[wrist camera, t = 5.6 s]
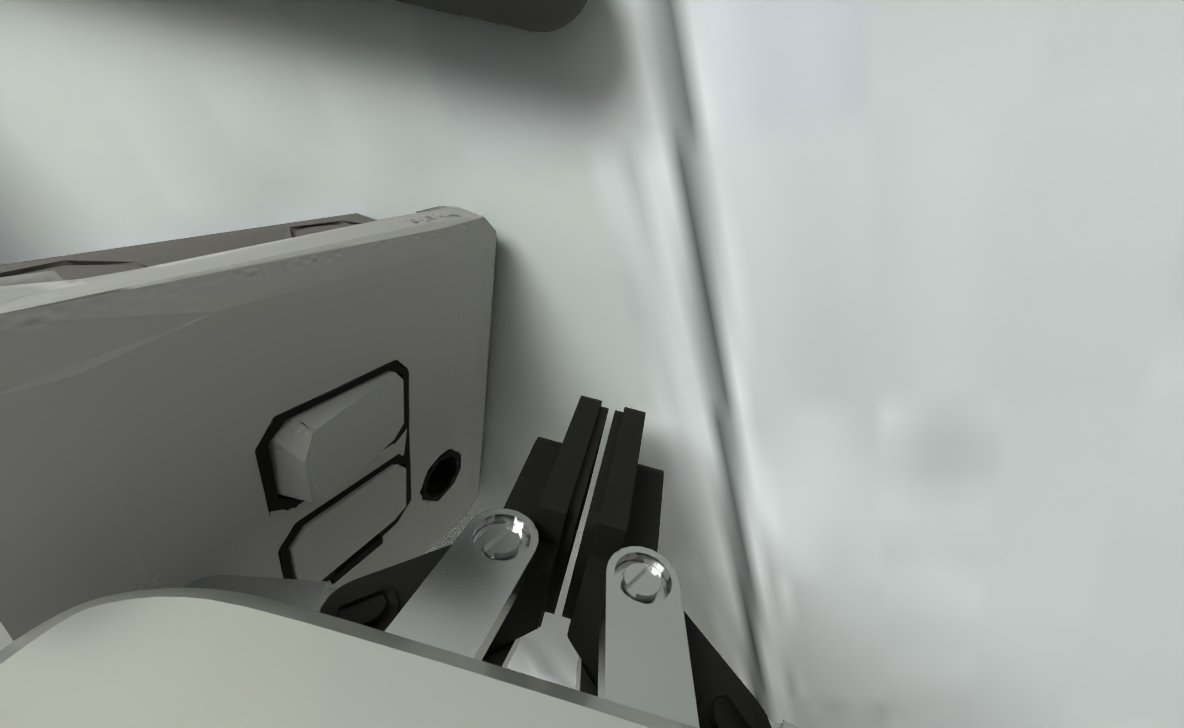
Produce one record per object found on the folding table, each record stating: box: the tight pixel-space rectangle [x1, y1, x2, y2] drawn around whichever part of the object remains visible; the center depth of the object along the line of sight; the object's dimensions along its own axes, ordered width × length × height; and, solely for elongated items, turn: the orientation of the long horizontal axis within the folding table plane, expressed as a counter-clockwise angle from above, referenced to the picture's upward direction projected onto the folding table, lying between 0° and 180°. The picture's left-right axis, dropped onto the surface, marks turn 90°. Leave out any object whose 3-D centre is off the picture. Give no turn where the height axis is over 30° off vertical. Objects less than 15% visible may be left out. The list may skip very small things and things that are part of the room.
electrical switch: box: [0, 206, 497, 650], centre depth 10 cm, size 9×5×9 cm, turn 170°
